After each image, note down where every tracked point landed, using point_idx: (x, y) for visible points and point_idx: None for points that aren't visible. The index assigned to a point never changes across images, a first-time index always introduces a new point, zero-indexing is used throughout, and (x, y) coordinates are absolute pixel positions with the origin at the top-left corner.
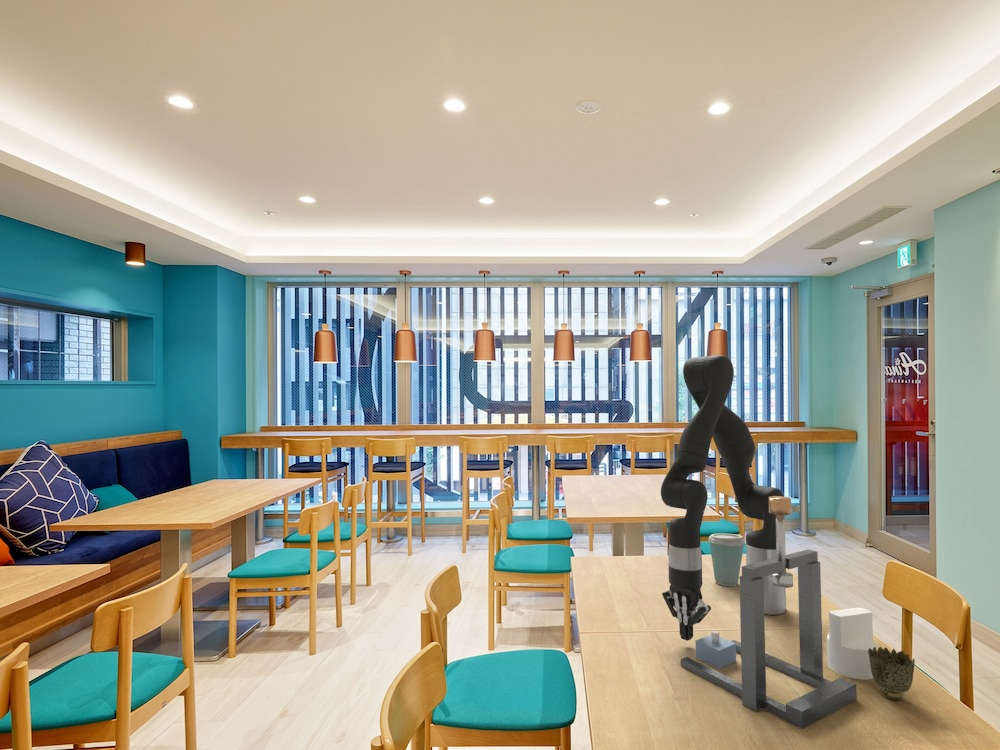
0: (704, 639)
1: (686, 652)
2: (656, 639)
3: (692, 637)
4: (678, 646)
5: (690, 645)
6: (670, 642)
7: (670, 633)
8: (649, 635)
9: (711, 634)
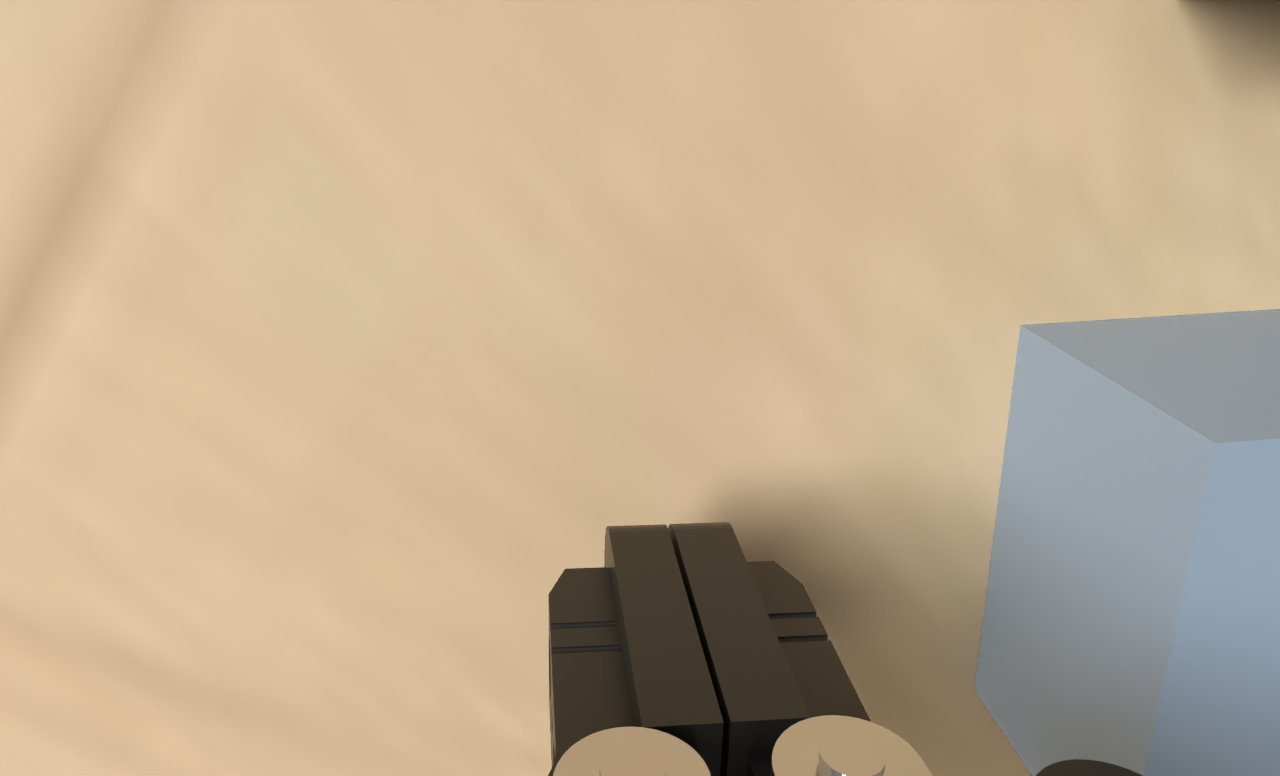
0: (1211, 752)
1: None
2: (222, 753)
3: (776, 569)
4: None
5: (678, 470)
6: (421, 651)
7: (113, 403)
8: (34, 751)
9: (1211, 471)
